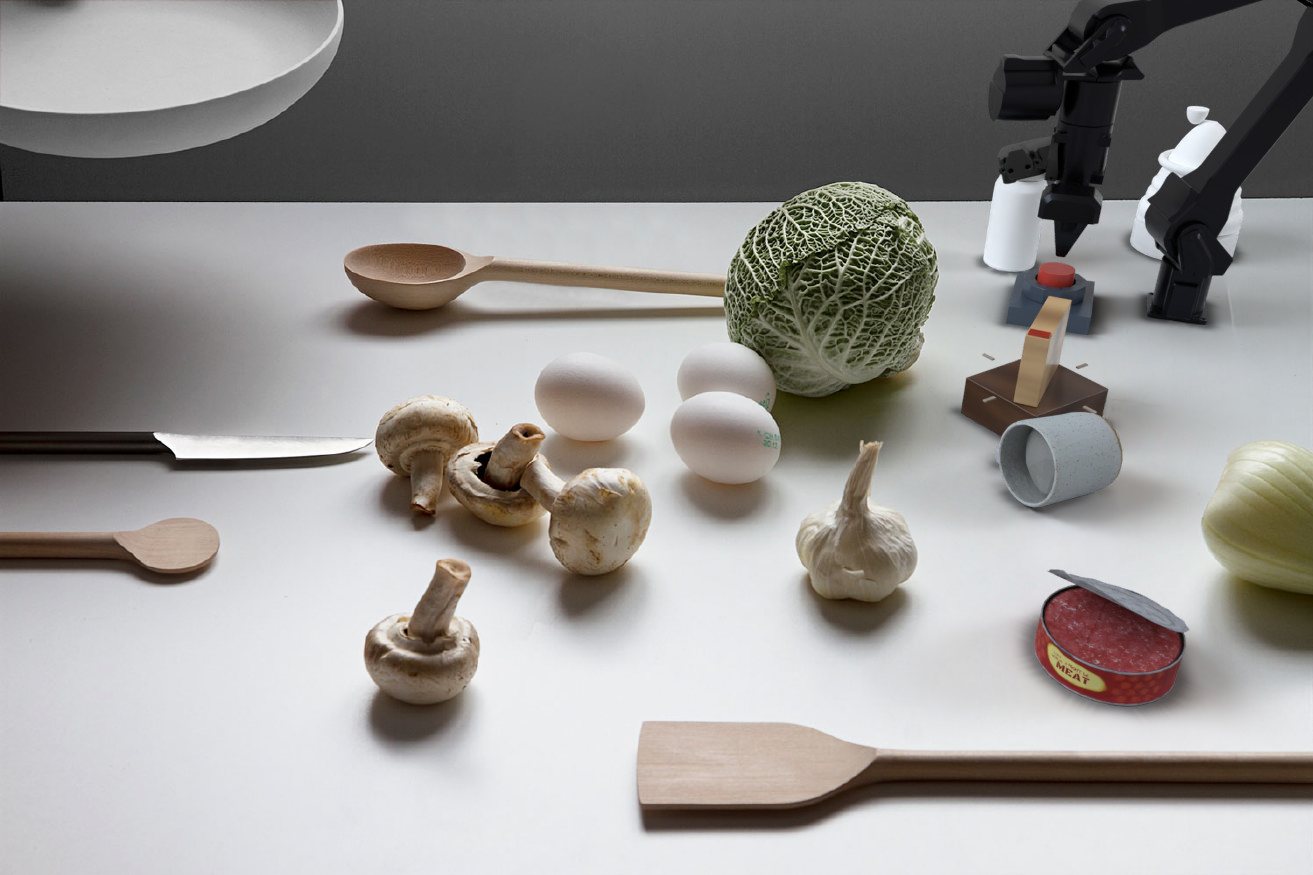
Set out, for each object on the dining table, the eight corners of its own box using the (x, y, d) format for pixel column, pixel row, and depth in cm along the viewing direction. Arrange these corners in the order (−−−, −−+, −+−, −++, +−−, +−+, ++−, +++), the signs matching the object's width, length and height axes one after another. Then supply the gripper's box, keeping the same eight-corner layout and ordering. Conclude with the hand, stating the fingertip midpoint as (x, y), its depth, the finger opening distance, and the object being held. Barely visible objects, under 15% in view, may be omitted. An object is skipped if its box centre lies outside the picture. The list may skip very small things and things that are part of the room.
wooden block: (1026, 372, 121) (1032, 337, 118) (1137, 430, 110) (1146, 392, 108) (926, 407, 114) (931, 370, 112) (1034, 471, 104) (1042, 433, 102)
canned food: (1021, 681, 87) (1006, 553, 86) (1151, 663, 87) (1137, 535, 86) (1078, 728, 76) (1061, 581, 75) (1227, 707, 76) (1211, 561, 75)
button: (1038, 273, 134) (1041, 260, 133) (1073, 278, 133) (1076, 264, 132) (1035, 286, 131) (1038, 272, 130) (1071, 291, 130) (1074, 277, 129)
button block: (1014, 287, 140) (1019, 257, 138) (1091, 298, 137) (1098, 267, 135) (1005, 324, 131) (1010, 292, 129) (1087, 335, 128) (1094, 303, 126)
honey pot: (1118, 251, 150) (1148, 115, 140) (1144, 223, 159) (1173, 93, 149) (1221, 272, 143) (1260, 131, 134) (1242, 241, 152) (1280, 107, 143)
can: (979, 269, 145) (993, 178, 138) (986, 252, 150) (1000, 163, 143) (1031, 277, 142) (1048, 184, 136) (1037, 258, 148) (1053, 168, 141)
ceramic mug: (1120, 502, 99) (1138, 426, 96) (1046, 524, 97) (1062, 447, 93) (1039, 446, 108) (1052, 374, 104) (969, 465, 105) (980, 392, 101)
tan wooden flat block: (1036, 359, 114) (1049, 293, 111) (1059, 364, 113) (1072, 297, 110) (1013, 402, 107) (1025, 333, 103) (1036, 407, 106) (1050, 337, 102)
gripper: (1017, 93, 132) (997, 221, 140) (1000, 136, 117) (979, 276, 125) (1118, 101, 129) (1091, 231, 137) (1114, 147, 114) (1084, 290, 122)
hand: (1060, 255), depth 130 cm, fingers closed
